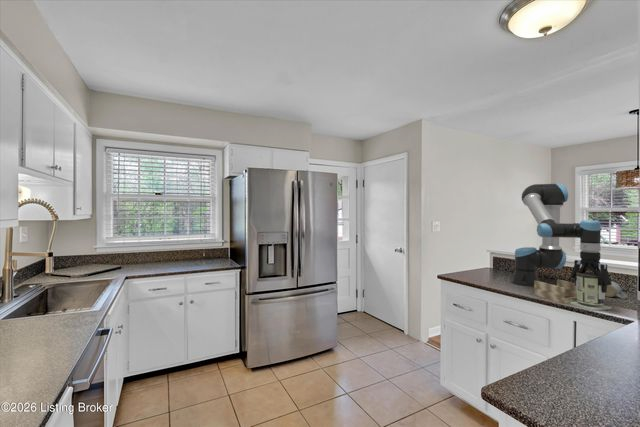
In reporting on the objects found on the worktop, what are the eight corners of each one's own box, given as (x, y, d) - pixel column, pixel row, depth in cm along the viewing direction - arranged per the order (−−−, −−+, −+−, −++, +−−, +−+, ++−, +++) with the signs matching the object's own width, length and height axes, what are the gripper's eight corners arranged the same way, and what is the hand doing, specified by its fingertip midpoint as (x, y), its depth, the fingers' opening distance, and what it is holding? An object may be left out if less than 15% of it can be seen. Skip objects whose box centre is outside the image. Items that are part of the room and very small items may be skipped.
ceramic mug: (598, 295, 167) (599, 282, 167) (602, 293, 172) (603, 280, 172) (625, 300, 159) (625, 286, 158) (628, 298, 163) (629, 284, 163)
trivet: (569, 303, 154) (569, 301, 154) (587, 302, 156) (587, 300, 156) (592, 310, 143) (592, 308, 143) (611, 309, 145) (611, 307, 145)
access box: (534, 294, 171) (534, 280, 171) (558, 293, 173) (558, 279, 173) (563, 303, 154) (563, 288, 154) (589, 301, 157) (589, 286, 157)
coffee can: (594, 299, 154) (594, 272, 153) (609, 306, 144) (609, 276, 143) (571, 298, 156) (571, 271, 156) (584, 304, 146) (584, 276, 145)
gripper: (561, 248, 160) (561, 290, 160) (609, 254, 138) (609, 303, 138) (573, 248, 161) (573, 289, 161) (622, 254, 139) (622, 302, 139)
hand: (590, 295), depth 150 cm, fingers closed on coffee can, 10 cm apart
